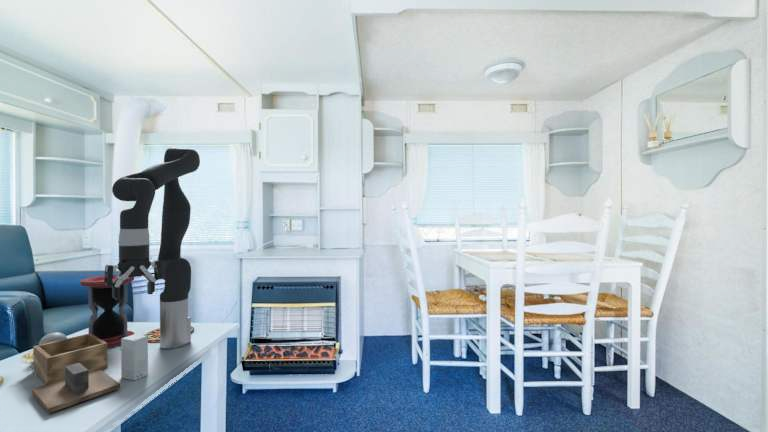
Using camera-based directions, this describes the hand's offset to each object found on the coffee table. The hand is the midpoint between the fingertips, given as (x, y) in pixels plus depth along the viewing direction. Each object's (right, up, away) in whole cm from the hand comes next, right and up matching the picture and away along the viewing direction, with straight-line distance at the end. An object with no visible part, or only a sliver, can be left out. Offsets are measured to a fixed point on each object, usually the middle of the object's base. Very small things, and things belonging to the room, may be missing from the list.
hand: (134, 296), depth 103 cm
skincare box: (0, -25, 0) cm, 25 cm away
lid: (-9, -24, -10) cm, 27 cm away
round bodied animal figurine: (-36, -25, +14) cm, 46 cm away
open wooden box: (-23, -24, +4) cm, 34 cm away
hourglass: (-31, -24, +28) cm, 48 cm away
